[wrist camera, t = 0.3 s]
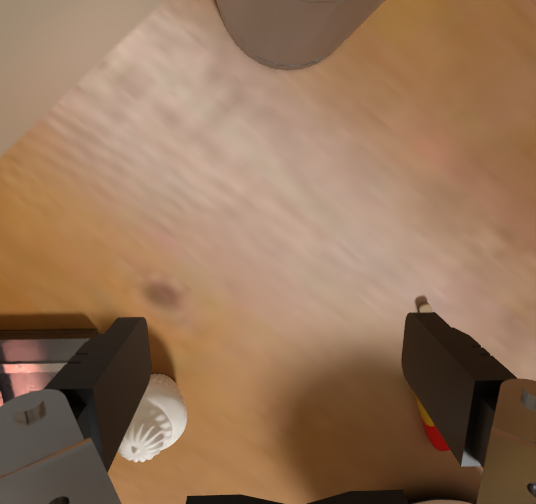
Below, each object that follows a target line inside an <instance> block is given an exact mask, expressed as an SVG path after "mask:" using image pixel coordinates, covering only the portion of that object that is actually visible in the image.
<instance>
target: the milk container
mask: <svg viewBox="0 0 536 504" xmlns="http://www.w3.org/2000/svg"><path fill="white" fill-rule="evenodd" d="M408 504H474V503H471V502H468V501H465V500H461V499H452V498H432V497H430V498H426V499H422V500H418V501H411V502H408Z"/></svg>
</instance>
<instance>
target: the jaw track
mask: <svg viewBox="0 0 536 504" xmlns="http://www.w3.org/2000/svg"><path fill="white" fill-rule="evenodd" d="M97 335H98V331H97V329H55V330H0V392H1V395H2V399H3V403H4V404H5V403H6V402H8V401H9V400H11V399H13V398H15V397H17V396H20V395H22V394H25V393H28V392H32V391H36V390H42V389H44V388H45V387H46V385H47V384H48V383H49V382H50V381H51V380H52V379H53V378H54V376H55V375H56V374H57V373H58V372H59V371H60V370H61V369H62V367H63V366H64V365H65V364H67V362H68V361H69V360H70V358H71V357H72V356H73V355H75V353H76V352H77V351H78V349H79V348H80V347H81V346H82V345H83V344H84V343H85V342H87V341H88V340H90V339H92V338H93V337H95V336H97Z"/></svg>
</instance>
